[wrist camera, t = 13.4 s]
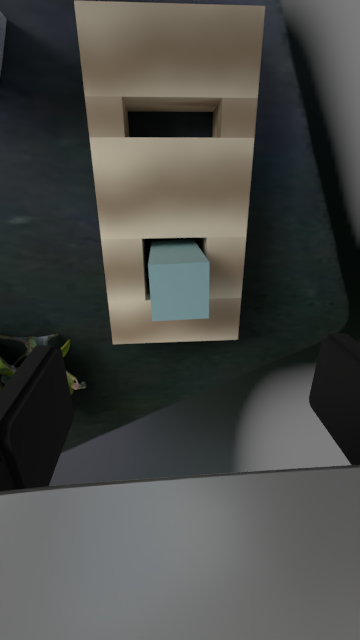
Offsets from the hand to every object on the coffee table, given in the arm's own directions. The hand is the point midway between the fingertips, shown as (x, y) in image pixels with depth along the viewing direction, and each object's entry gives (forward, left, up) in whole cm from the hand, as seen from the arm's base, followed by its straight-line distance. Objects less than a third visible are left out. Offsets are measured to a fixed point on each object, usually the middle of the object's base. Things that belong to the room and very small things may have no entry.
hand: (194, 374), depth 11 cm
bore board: (-5, 0, -20) cm, 20 cm away
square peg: (0, 0, -20) cm, 20 cm away
